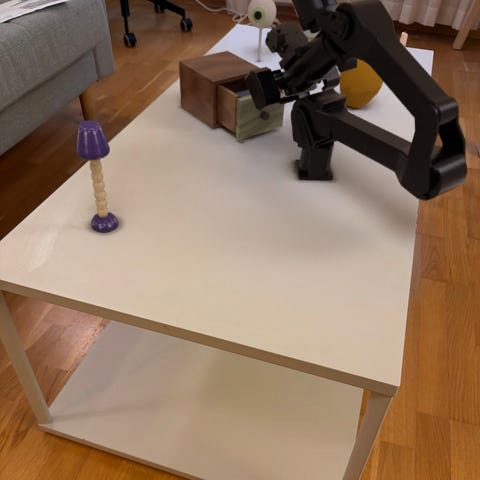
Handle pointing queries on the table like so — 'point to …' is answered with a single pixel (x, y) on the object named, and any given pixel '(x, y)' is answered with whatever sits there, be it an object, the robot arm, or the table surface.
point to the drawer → (244, 111)
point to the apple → (359, 85)
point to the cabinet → (208, 82)
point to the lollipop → (261, 16)
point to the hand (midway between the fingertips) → (270, 102)
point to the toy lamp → (96, 170)
